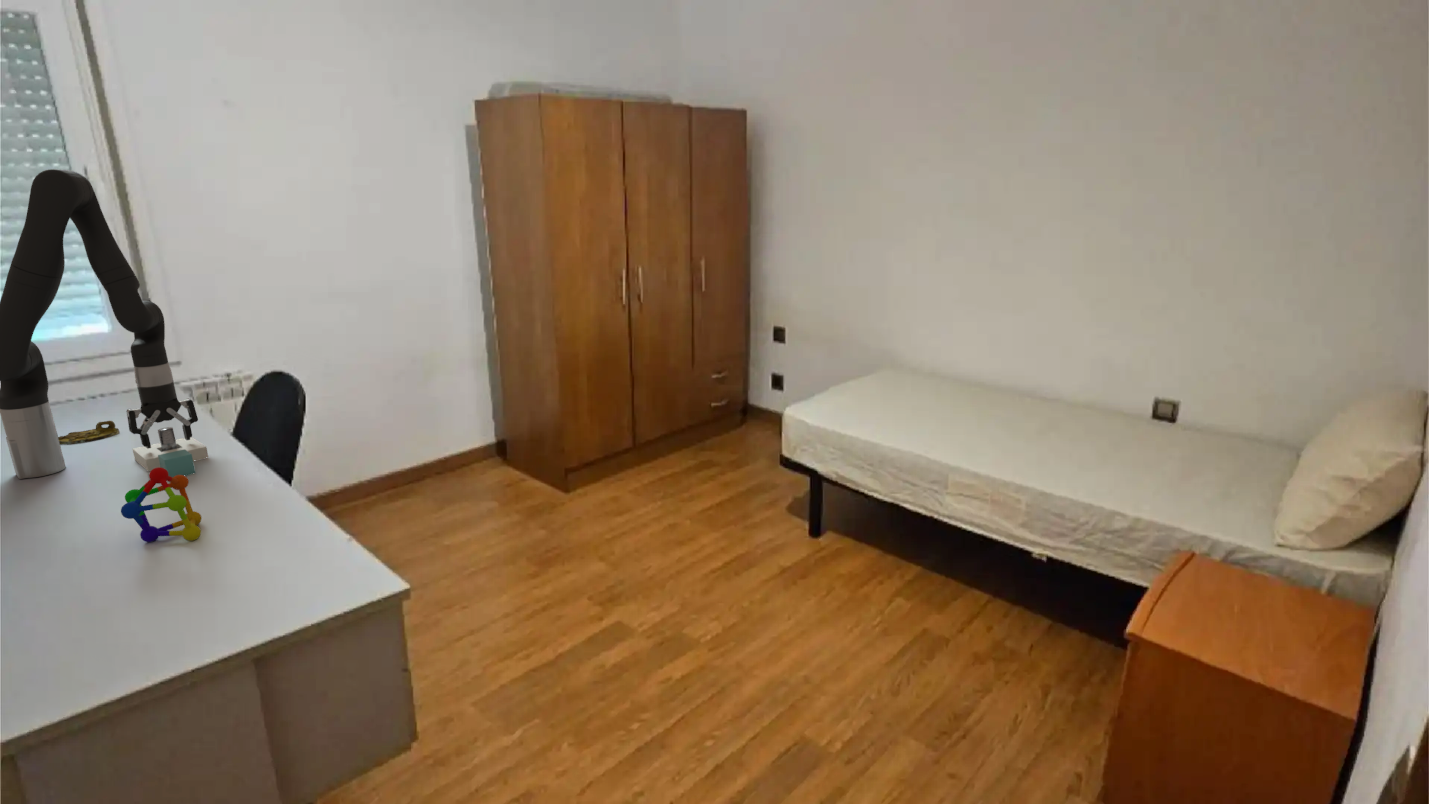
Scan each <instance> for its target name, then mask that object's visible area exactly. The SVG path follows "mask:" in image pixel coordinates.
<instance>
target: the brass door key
mask: <svg viewBox="0 0 1429 804" xmlns="http://www.w3.org/2000/svg"><path fill="white" fill-rule="evenodd" d="M105 425H108V426H107V427H103V426H105ZM118 434H120V430H119V428H118V427H116V424H115V422H114V421H113V420H106V421H99V422H97V423H96V425H95V428H92V429H88V430H83V431H73V432H68V434H65V435H60V436H58V438H59V442H60V444H67V445H76V444H84V443H89V442H95V441H99V440H104V439H107V438H110V437H113V436H116V435H118Z"/></svg>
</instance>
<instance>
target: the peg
mask: <svg viewBox="0 0 1429 804" xmlns="http://www.w3.org/2000/svg"><path fill="white" fill-rule="evenodd" d="M157 433H158V438H159V443H161V447H162V452H163V451H168V450H173V449H177V445H176V436H175V431H174V428H173V427H172V426H171V427H169V426H168V427H161V428H159V429H157Z"/></svg>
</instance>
